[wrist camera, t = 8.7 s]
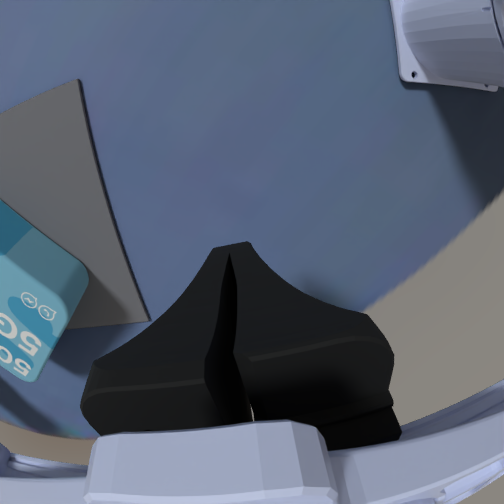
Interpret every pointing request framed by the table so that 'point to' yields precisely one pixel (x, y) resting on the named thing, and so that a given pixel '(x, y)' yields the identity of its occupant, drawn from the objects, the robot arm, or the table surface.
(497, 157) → the table surface
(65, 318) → the data package
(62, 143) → the mat
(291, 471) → the robot arm
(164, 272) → the table surface
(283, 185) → the table surface
